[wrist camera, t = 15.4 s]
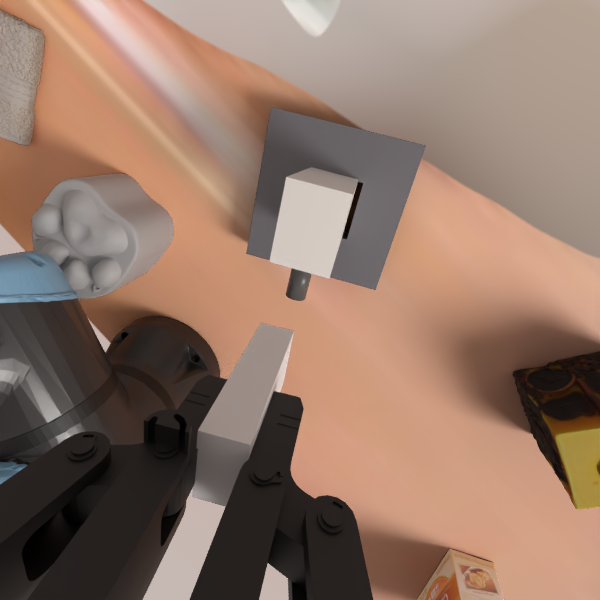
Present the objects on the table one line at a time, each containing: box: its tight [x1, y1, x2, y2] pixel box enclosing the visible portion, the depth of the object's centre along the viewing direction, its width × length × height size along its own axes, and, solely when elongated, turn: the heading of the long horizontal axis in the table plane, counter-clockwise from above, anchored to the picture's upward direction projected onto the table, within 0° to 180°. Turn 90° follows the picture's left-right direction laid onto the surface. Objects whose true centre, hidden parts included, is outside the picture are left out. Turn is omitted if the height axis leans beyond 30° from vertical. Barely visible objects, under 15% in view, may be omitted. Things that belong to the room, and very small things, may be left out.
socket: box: [246, 107, 426, 290], centre depth 35 cm, size 14×14×4 cm
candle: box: [513, 352, 600, 509], centre depth 36 cm, size 10×10×10 cm
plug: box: [269, 167, 358, 301], centre depth 31 cm, size 9×4×14 cm, turn 167°
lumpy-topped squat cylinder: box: [31, 173, 174, 299], centre depth 39 cm, size 10×13×9 cm
